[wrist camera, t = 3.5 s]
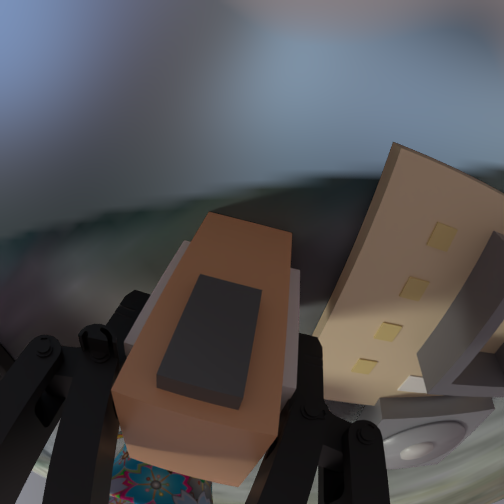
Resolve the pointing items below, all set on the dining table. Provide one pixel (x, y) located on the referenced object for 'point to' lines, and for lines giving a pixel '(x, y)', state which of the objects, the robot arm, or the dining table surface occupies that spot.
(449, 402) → the grey domed square block
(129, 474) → the mug
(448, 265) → the board
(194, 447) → the plug
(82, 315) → the dining table surface
